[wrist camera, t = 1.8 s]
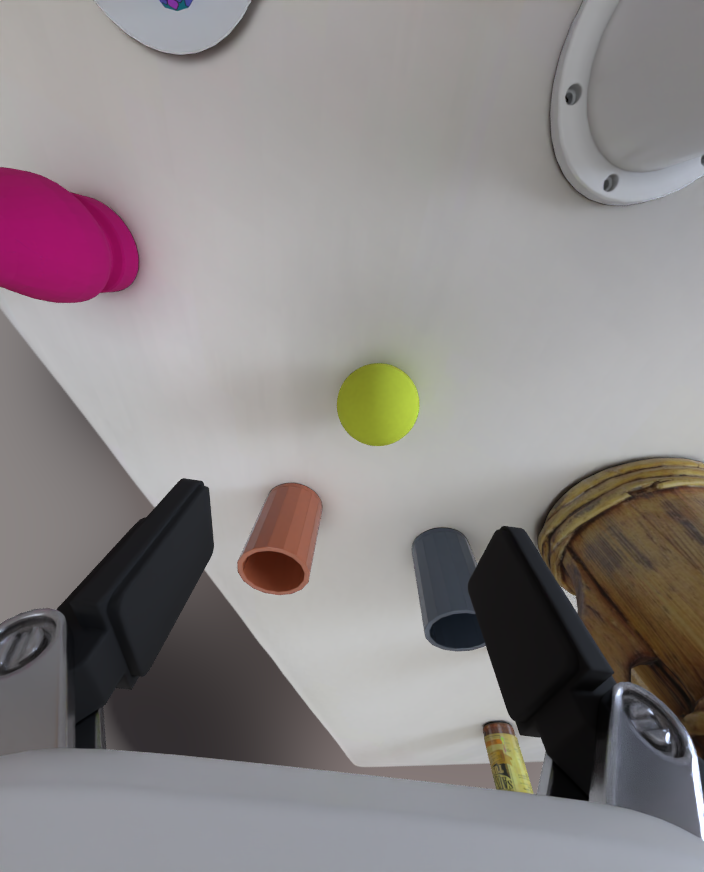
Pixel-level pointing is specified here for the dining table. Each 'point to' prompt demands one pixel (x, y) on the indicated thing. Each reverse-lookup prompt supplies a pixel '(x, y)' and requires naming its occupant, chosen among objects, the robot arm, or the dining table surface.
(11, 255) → the pepper mill
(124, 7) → the pudding
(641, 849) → the robot arm
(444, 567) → the grey cup
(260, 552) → the terracotta cup
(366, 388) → the ball
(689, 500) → the tankard
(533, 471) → the dining table surface
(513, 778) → the sauce bottle
